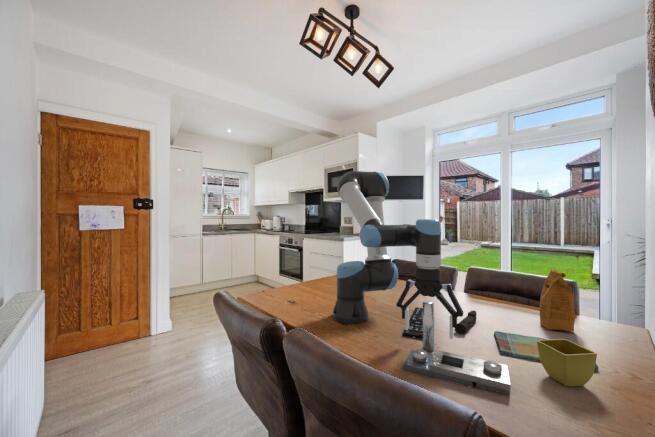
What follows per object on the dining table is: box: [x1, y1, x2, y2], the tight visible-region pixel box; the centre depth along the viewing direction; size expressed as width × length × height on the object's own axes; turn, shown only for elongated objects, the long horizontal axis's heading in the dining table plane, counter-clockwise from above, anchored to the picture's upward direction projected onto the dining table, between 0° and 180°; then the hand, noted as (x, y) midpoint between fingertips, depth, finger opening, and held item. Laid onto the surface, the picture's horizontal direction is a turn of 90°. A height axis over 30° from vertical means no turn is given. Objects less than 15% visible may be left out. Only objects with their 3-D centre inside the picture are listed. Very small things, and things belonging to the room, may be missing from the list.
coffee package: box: [539, 267, 576, 332], centre depth 107 cm, size 10×12×22 cm
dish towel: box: [493, 330, 599, 372], centre depth 88 cm, size 17×23×2 cm
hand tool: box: [454, 310, 477, 335], centre depth 108 cm, size 19×4×5 cm, turn 134°
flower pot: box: [537, 338, 598, 387], centre depth 72 cm, size 9×9×9 cm
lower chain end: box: [403, 348, 473, 388], centre depth 78 cm, size 17×10×4 cm, turn 61°
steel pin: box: [422, 300, 435, 353], centre depth 90 cm, size 4×4×15 cm
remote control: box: [402, 306, 423, 340], centre depth 112 cm, size 8×32×2 cm, turn 154°
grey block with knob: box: [430, 349, 511, 396], centre depth 74 cm, size 18×10×4 cm, turn 61°
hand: (428, 332), depth 90 cm, fingers open, 13 cm apart
